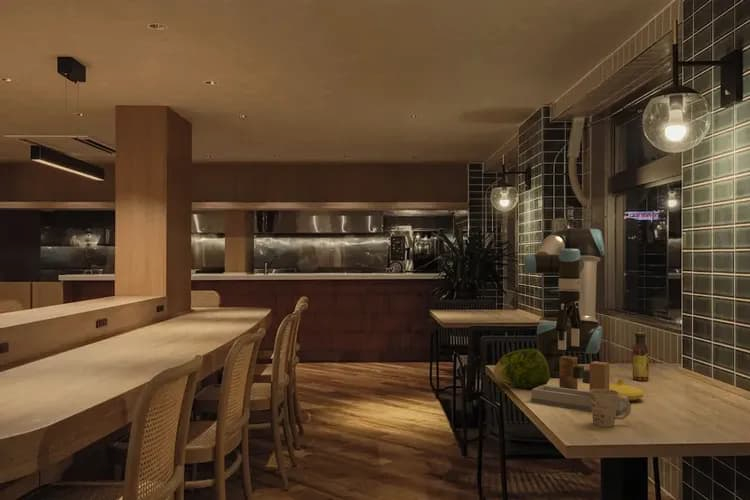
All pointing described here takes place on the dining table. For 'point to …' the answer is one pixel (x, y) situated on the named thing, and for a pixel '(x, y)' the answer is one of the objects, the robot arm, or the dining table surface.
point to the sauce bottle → (640, 358)
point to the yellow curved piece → (626, 390)
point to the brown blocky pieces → (578, 391)
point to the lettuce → (522, 369)
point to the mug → (606, 406)
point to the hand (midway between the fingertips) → (568, 347)
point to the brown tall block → (570, 372)
